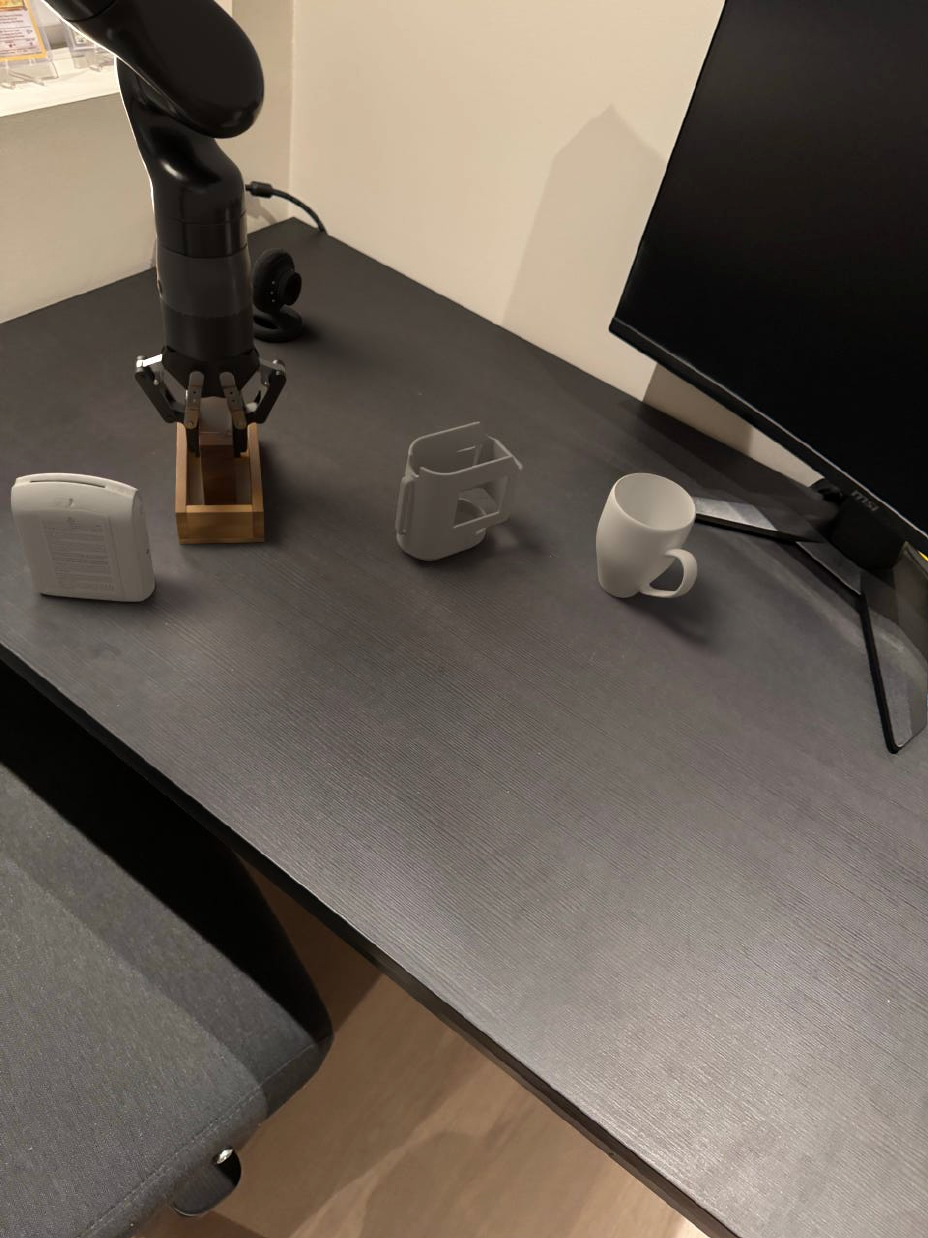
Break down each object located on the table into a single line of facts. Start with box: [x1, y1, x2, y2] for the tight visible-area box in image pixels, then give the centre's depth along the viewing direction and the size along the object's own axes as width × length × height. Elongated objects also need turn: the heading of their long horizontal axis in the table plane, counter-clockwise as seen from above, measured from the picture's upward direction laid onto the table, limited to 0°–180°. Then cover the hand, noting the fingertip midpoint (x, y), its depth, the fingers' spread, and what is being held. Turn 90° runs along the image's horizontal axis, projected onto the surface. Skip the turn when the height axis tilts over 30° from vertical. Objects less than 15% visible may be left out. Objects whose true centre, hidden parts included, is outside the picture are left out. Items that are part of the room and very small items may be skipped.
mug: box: [595, 472, 698, 599], centre depth 82 cm, size 12×8×11 cm
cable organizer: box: [394, 420, 524, 562], centre depth 83 cm, size 7×12×12 cm, turn 123°
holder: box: [174, 414, 265, 545], centre depth 86 cm, size 8×16×4 cm, turn 11°
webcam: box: [251, 247, 304, 342], centre depth 104 cm, size 8×8×10 cm
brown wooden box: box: [199, 396, 237, 505], centre depth 83 cm, size 3×10×9 cm, turn 12°
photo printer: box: [10, 472, 156, 603], centre depth 72 cm, size 10×4×12 cm, turn 92°
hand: (217, 451), depth 84 cm, fingers closed on brown wooden box, 3 cm apart
